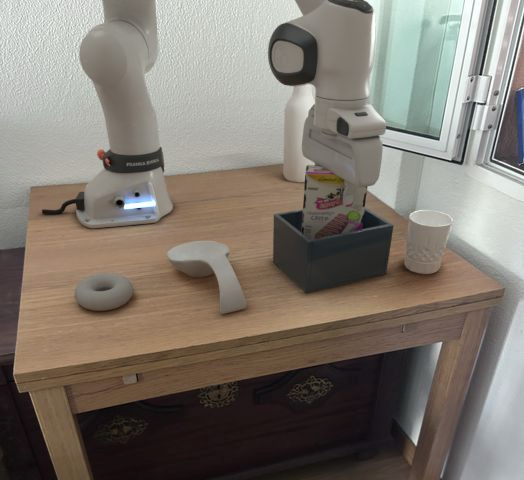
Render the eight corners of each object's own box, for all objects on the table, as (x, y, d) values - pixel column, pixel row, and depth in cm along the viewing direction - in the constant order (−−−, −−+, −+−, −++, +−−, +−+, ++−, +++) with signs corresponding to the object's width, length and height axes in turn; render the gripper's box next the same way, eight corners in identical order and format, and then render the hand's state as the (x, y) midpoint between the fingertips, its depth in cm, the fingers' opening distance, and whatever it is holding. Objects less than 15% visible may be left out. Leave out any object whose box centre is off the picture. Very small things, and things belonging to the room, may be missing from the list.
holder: (305, 293, 98) (308, 242, 92) (272, 262, 108) (273, 214, 102) (386, 274, 104) (393, 224, 98) (348, 246, 114) (353, 200, 108)
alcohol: (278, 174, 151) (280, 53, 134) (306, 171, 154) (312, 51, 136) (291, 184, 145) (295, 58, 127) (320, 180, 147) (328, 56, 130)
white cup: (393, 261, 108) (400, 213, 102) (425, 254, 110) (434, 207, 105) (417, 279, 102) (426, 229, 96) (451, 271, 105) (462, 222, 99)
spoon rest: (160, 263, 107) (156, 229, 103) (216, 251, 111) (214, 218, 107) (203, 321, 90) (200, 283, 86) (266, 305, 94) (267, 268, 90)
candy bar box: (299, 259, 103) (303, 172, 93) (300, 248, 107) (304, 164, 97) (359, 262, 102) (369, 175, 92) (358, 250, 106) (367, 166, 96)
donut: (137, 285, 100) (81, 286, 99) (134, 268, 98) (78, 269, 97) (131, 314, 92) (70, 315, 91) (128, 296, 90) (67, 297, 89)
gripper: (294, 103, 96) (292, 180, 104) (358, 130, 81) (349, 218, 89) (325, 100, 98) (320, 176, 106) (393, 126, 83) (381, 212, 91)
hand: (334, 196), depth 97 cm, fingers closed on candy bar box, 6 cm apart
